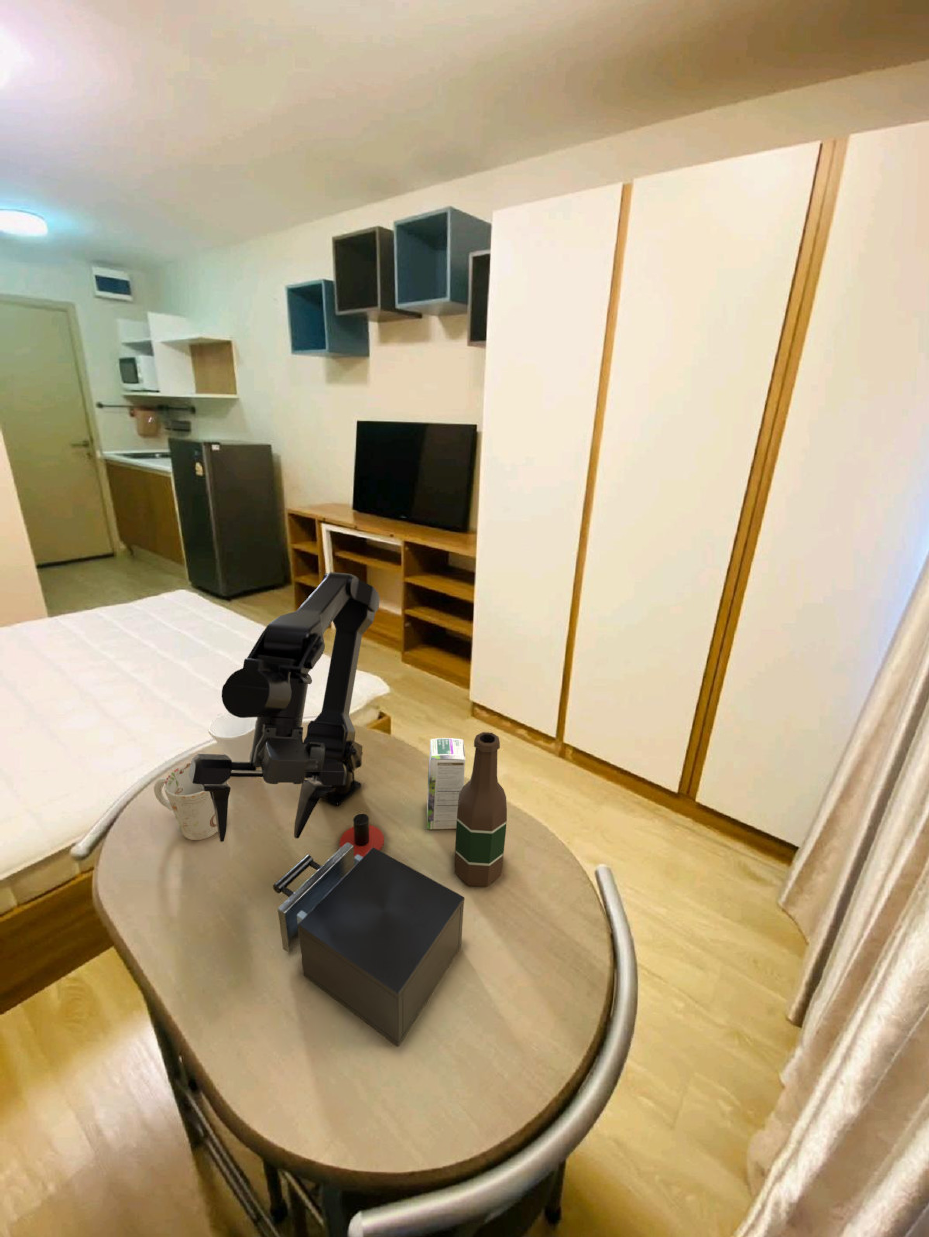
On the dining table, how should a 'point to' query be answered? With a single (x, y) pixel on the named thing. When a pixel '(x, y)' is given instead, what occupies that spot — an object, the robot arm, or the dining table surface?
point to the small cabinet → (382, 941)
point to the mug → (188, 804)
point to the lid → (362, 836)
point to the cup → (234, 735)
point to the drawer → (310, 890)
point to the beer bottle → (481, 818)
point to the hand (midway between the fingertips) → (260, 839)
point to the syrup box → (445, 782)
